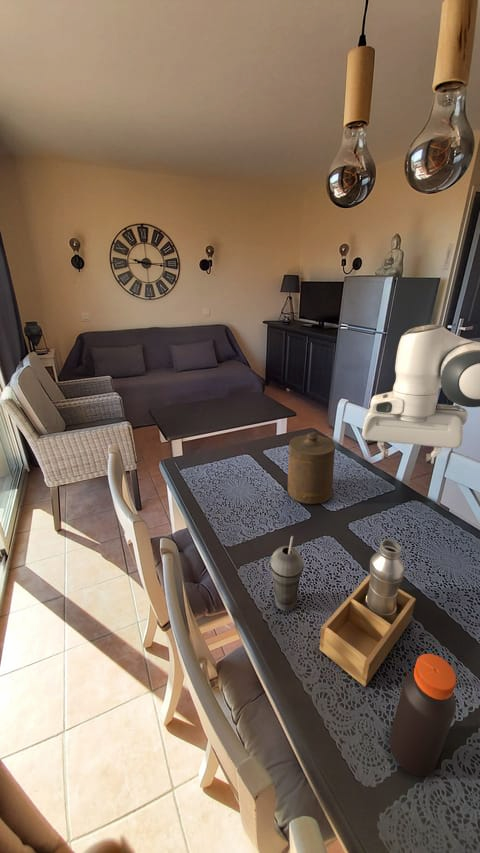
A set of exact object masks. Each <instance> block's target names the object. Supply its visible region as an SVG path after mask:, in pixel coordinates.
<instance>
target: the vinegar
mask: <svg viewBox="0 0 480 853" xmlns="http://www.w3.org/2000/svg"><path fill="white" fill-rule="evenodd" d="M456 685H457V675H456V672H455V670H454V669H453V667H452V666H451V664H449V662H448V661H447V660H446V659H443V657H441V656H438V655H436V654H434V653H424V654H421V655H419V656H418V658H417V659H416V662H415V665H414V669H413V670H411V671H409V672H408V673H407V674H406V676H405V677H404V679H403V683H402V686H401V690H400V693H399V694H400V695H399V698H398V702H397V707H396V711H395V714H394V717H393V718H394V719H393V722H392V727H391V731H390V736H389V745H390V750H391V753H392V754H393V755H392V756H393V757H394V759H395V761H396V762H397V763H398V765H399V766H400V767H401V768H402V769H403V770H404V771H405V772H407V773H409V774H410V775H412V776H415V777H418V778H423V777H428V776H430V775H431V774H433V773H434V772H435V769H436V767H437V764H438V762H439V759H440V756H441V754H442V751H443V748H444V745H445V742H446V739H447V737H448V734H449V731H450V729H451V725H452V723H453V720H454V717H455V714H456V712H457V701H456V697H455V694H454V690H455V688H456Z"/></svg>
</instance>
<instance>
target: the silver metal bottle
mask: <svg viewBox="0 0 480 853" xmlns="http://www.w3.org/2000/svg"><path fill="white" fill-rule="evenodd" d="M378 548H379V549H378V551H377V552H375V553H374V554H373V555H372V556H371V557H370V559H369V574H370V586H369V590H368V594H367V596H366V598H365V601H364V607H366V608H367V609H369V610H370V611H372V612H373V613H375V614H376V615H378V616H379V617H381V618H382V619H384V620H385V621H387V622H388V623H390V624H391V625H392V624H393V622H394V621H395V619H396V616H397V607H396V600H397V593H398V589H400V587H401V586H400V585H401V583H402V581H403V579H404V575H405V572H406V570H405V565H404V563H403V561H402V559H401V556H402V555H401V554H402V553H401V552H402V546H401V544H399V543H398V542H397V541H395V540H392V539H383V540H382V541H381V542H380V546H379V547H378Z"/></svg>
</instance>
